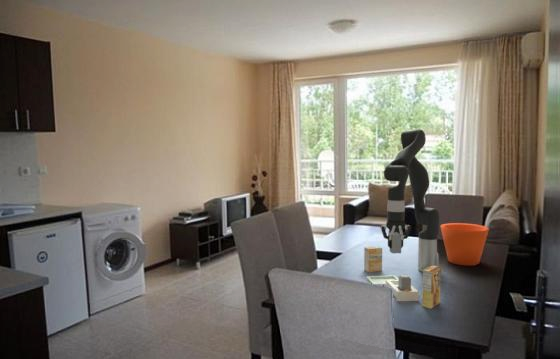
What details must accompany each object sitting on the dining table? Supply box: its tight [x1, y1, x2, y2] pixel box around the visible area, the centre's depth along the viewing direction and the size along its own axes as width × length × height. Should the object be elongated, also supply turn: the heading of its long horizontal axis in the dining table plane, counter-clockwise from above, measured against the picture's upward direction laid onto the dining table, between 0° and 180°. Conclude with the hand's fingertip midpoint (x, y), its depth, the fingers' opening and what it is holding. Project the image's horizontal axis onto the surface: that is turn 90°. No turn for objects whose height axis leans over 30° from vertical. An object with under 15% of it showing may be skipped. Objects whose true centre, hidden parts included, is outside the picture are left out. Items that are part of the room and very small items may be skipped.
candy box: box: [421, 265, 442, 309], centre depth 168 cm, size 9×4×15 cm, turn 137°
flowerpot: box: [439, 222, 490, 266], centre depth 232 cm, size 25×25×20 cm
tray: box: [366, 274, 398, 287], centre depth 196 cm, size 14×12×2 cm
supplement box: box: [363, 246, 383, 273], centre depth 214 cm, size 8×5×13 cm, turn 105°
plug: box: [389, 232, 402, 254], centre depth 185 cm, size 4×4×9 cm
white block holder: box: [385, 274, 419, 302], centre depth 181 cm, size 16×9×10 cm, turn 3°
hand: (395, 247), depth 185 cm, fingers closed on plug, 4 cm apart
